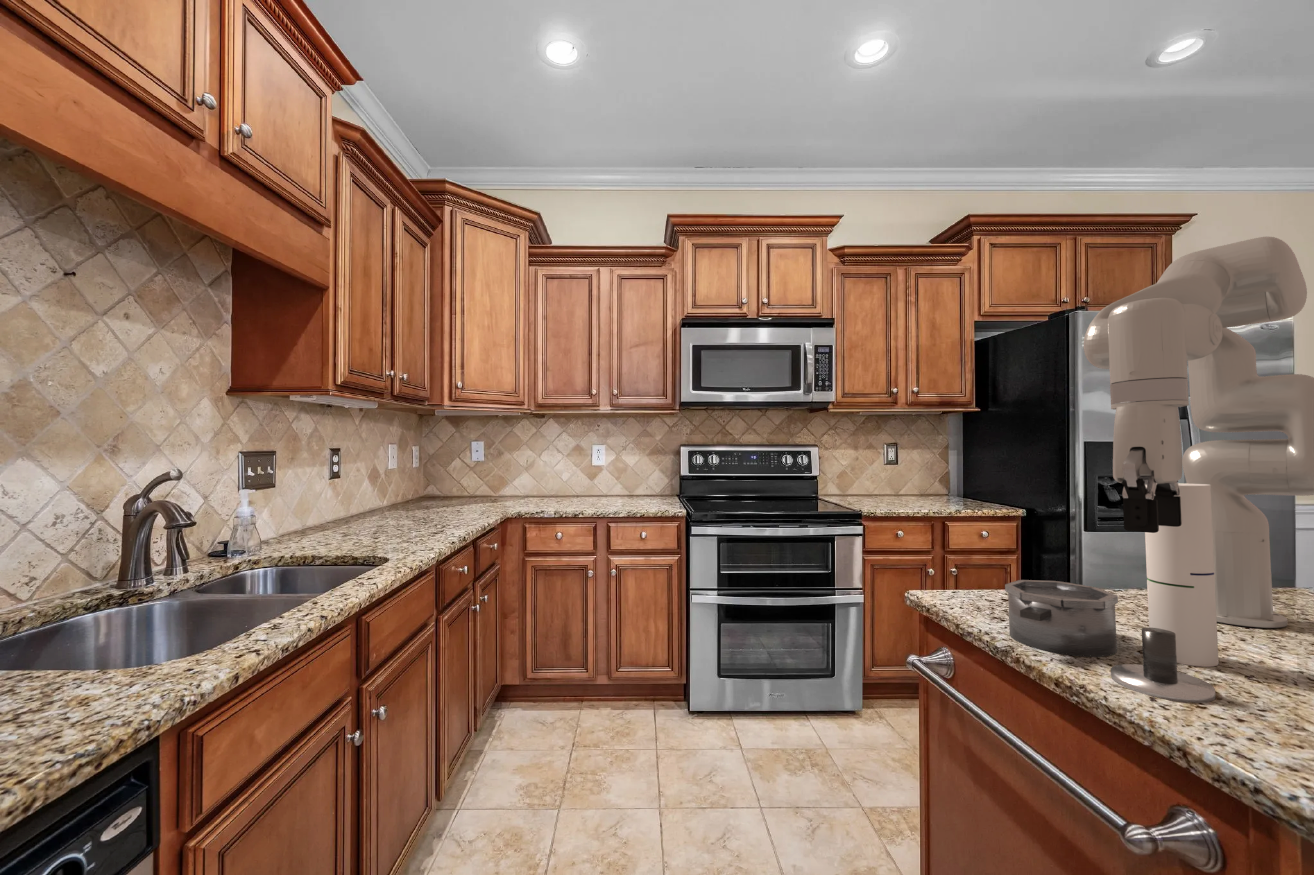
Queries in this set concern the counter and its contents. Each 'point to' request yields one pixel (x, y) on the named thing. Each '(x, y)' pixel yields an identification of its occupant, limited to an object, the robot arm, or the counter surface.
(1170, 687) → the lid
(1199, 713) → the counter surface
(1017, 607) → the pot
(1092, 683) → the counter surface
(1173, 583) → the cylindrical container
